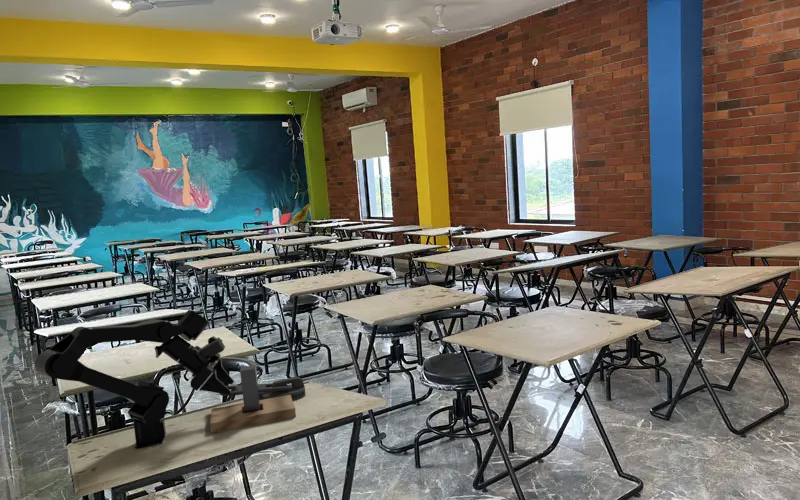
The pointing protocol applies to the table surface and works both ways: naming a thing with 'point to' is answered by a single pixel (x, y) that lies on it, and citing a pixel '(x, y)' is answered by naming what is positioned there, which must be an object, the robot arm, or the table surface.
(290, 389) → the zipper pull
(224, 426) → the post foot
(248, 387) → the dark grey square post
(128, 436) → the table surface
